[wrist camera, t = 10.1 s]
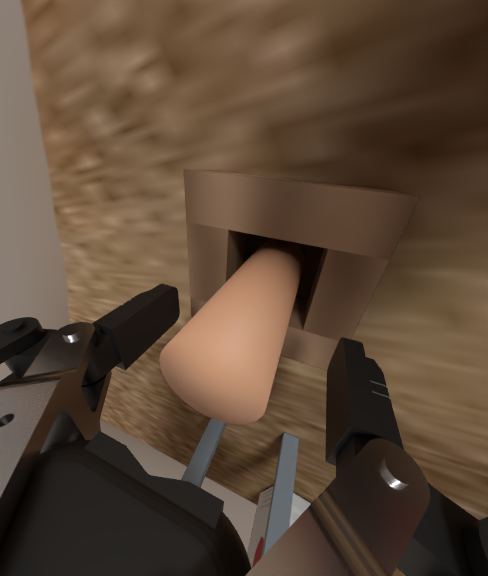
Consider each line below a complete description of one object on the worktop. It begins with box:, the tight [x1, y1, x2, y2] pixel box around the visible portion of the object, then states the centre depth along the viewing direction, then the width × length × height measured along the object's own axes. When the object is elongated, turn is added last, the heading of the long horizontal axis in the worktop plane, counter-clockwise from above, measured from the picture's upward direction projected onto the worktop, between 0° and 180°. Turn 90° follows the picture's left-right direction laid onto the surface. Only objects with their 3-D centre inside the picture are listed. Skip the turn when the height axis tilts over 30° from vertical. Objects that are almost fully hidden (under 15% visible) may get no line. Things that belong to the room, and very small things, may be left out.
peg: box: [160, 238, 304, 425], centre depth 12 cm, size 4×4×12 cm
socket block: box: [184, 169, 420, 371], centre depth 15 cm, size 12×12×4 cm
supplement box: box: [247, 486, 311, 568], centre depth 31 cm, size 9×9×15 cm
